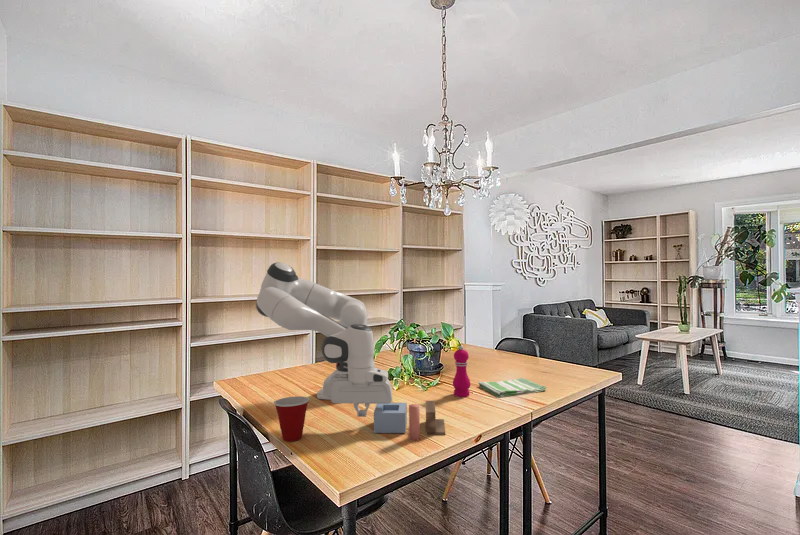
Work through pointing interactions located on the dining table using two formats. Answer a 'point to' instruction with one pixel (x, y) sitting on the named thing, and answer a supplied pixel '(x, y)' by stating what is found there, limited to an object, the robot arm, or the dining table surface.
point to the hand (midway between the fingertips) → (362, 416)
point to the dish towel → (511, 387)
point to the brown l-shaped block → (433, 421)
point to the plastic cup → (291, 416)
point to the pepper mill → (461, 373)
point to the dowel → (414, 422)
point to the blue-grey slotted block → (390, 418)
